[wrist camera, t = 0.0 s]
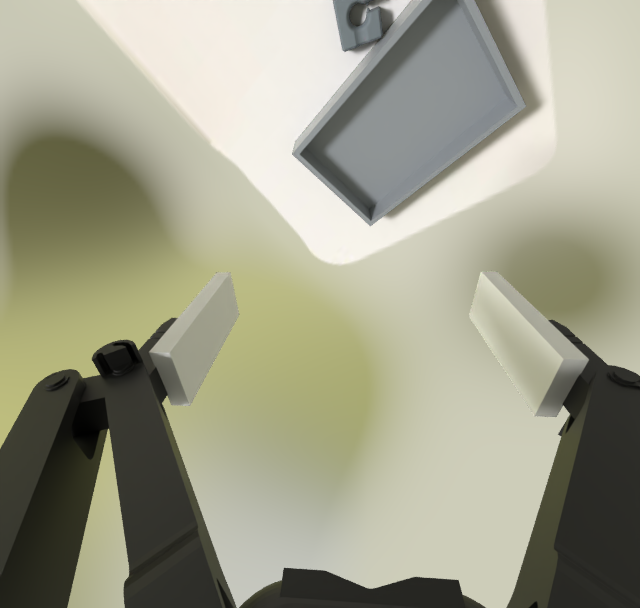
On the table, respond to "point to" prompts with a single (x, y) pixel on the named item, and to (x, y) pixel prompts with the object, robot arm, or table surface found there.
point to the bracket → (357, 34)
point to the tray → (410, 107)
